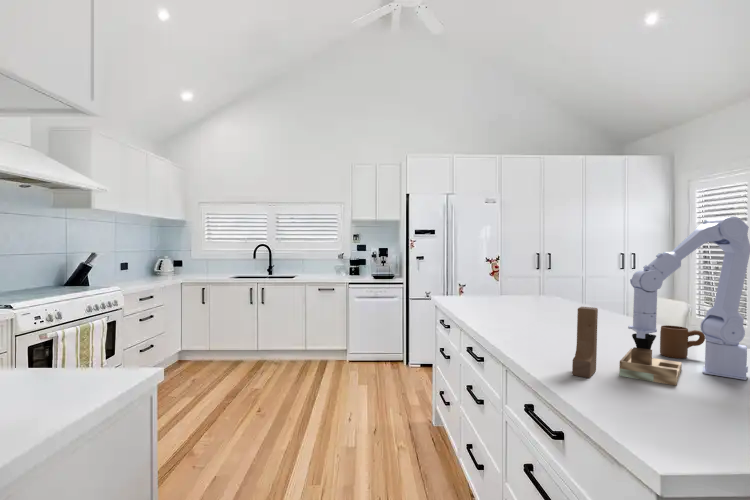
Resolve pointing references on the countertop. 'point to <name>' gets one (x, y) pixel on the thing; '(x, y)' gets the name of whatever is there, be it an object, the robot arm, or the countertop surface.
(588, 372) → the wooden block
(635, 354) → the walnut block
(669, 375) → the platform
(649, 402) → the countertop surface
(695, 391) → the countertop surface
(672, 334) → the mug
